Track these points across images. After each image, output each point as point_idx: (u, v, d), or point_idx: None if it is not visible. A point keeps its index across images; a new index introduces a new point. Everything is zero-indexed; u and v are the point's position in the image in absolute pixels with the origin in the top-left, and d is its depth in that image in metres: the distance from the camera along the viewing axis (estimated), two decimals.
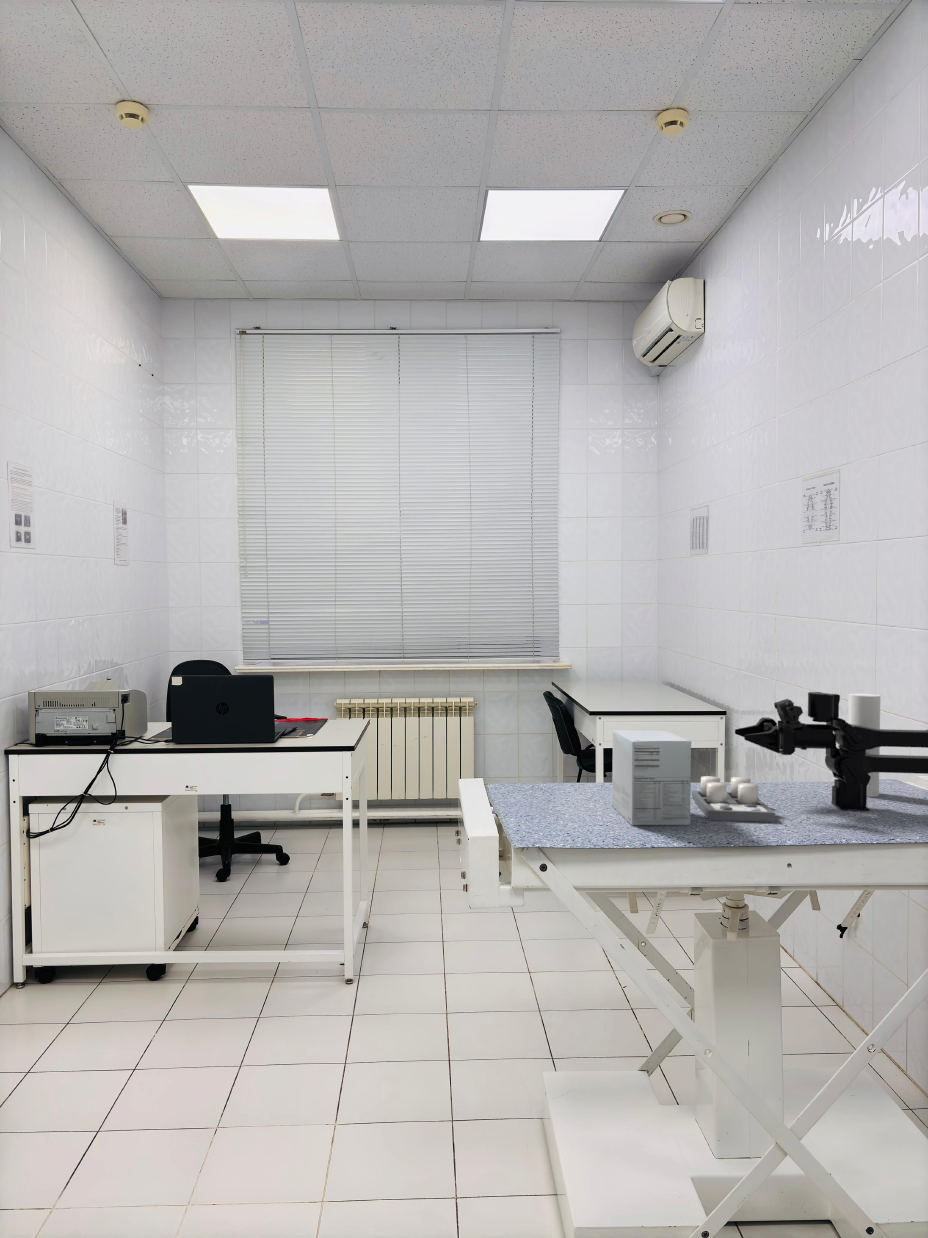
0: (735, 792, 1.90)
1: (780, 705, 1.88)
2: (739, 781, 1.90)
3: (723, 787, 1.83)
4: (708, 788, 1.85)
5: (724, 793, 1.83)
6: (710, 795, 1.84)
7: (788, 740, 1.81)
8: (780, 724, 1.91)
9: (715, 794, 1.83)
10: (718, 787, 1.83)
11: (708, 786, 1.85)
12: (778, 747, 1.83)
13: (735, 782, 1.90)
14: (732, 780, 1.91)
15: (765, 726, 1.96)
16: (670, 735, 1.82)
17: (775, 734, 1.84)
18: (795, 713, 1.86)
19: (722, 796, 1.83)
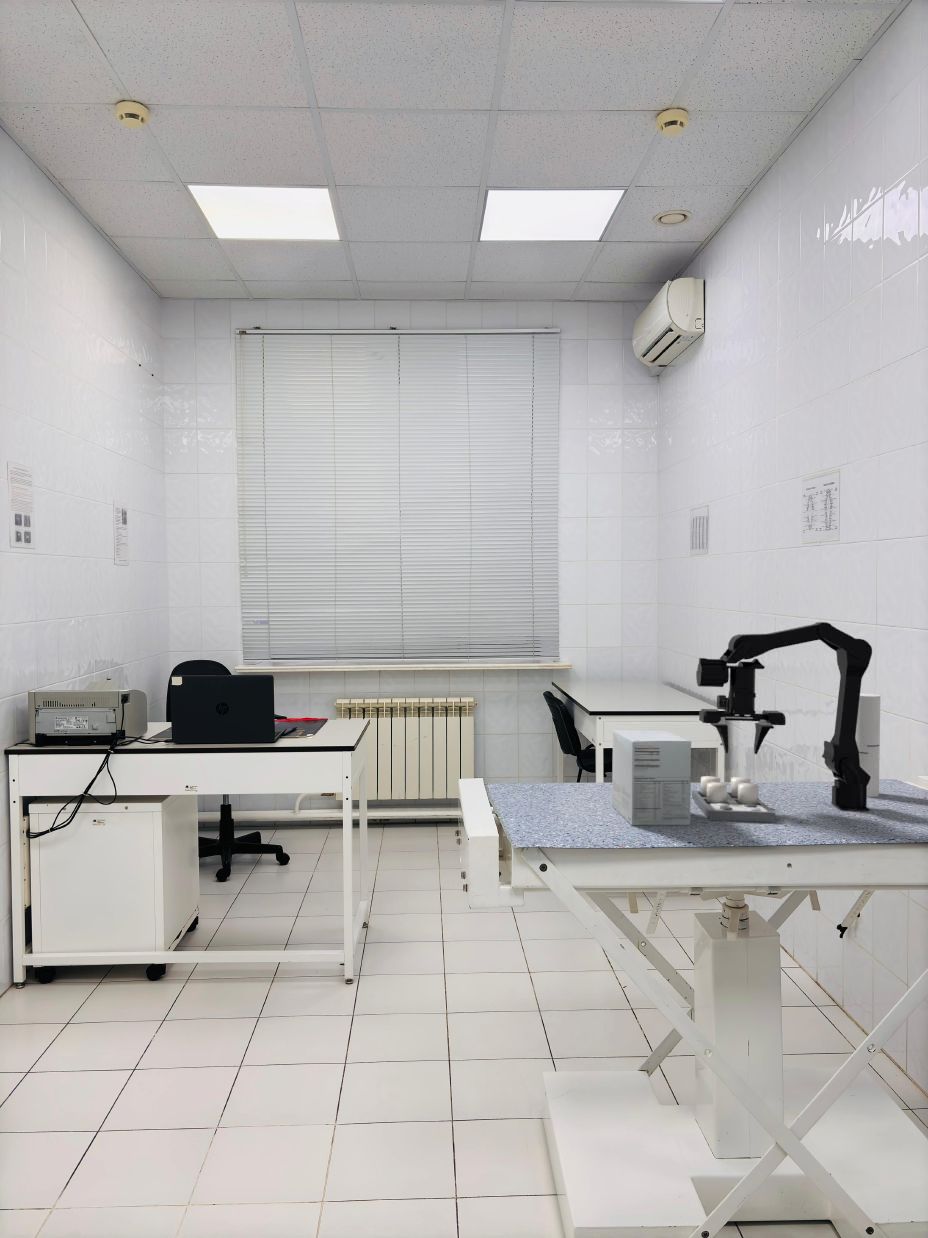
0: (735, 792, 1.90)
1: None
2: (739, 781, 1.90)
3: (723, 787, 1.83)
4: (708, 788, 1.85)
5: (724, 793, 1.83)
6: (710, 795, 1.84)
7: (701, 716, 1.93)
8: None
9: (715, 794, 1.83)
10: (718, 787, 1.83)
11: (708, 786, 1.85)
12: (713, 725, 1.90)
13: (735, 782, 1.90)
14: (732, 780, 1.91)
15: (758, 722, 1.92)
16: (670, 735, 1.82)
17: None
18: (718, 702, 1.97)
19: (722, 796, 1.83)
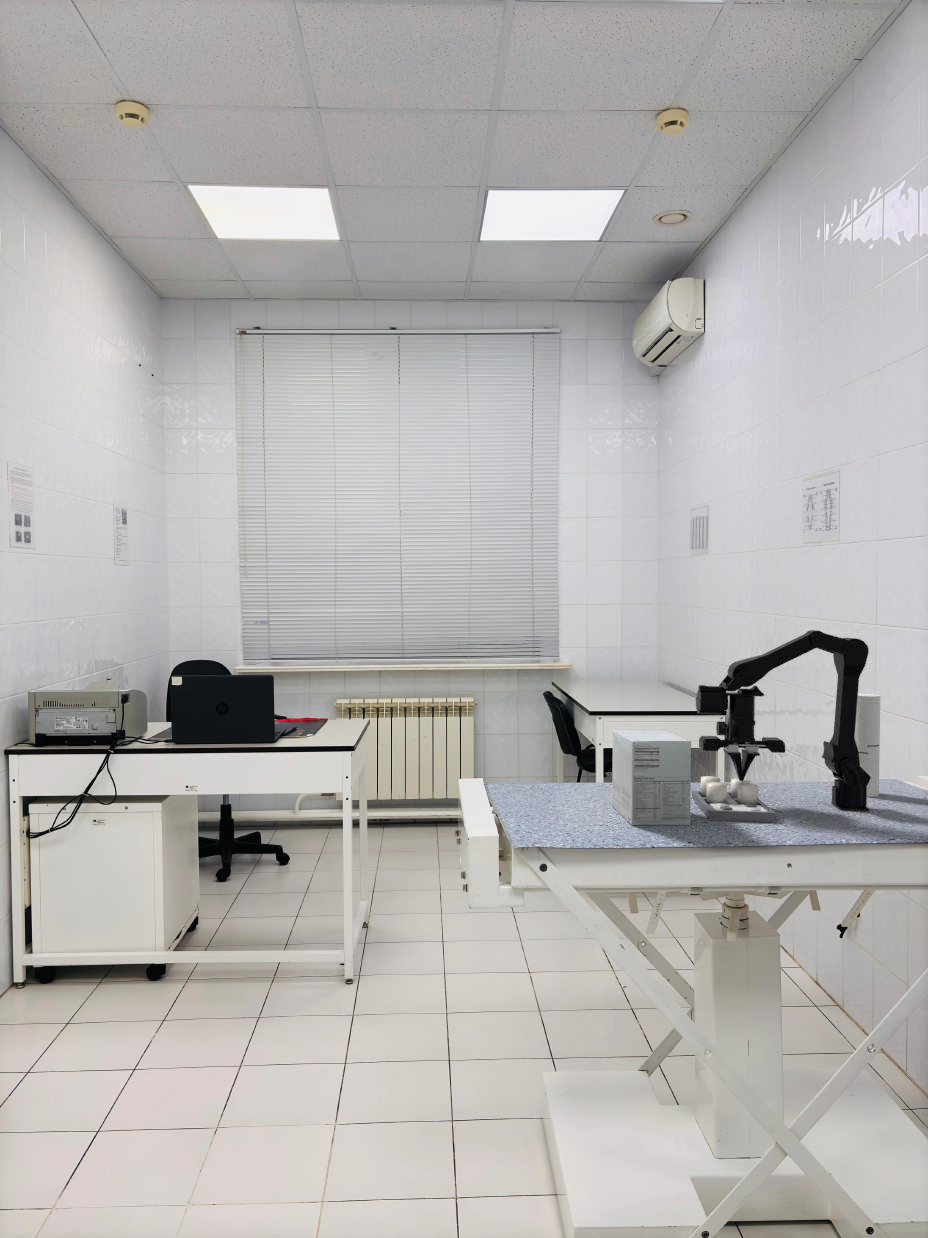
0: (735, 794, 1.90)
1: None
2: (739, 782, 1.90)
3: (723, 787, 1.83)
4: (708, 788, 1.85)
5: (724, 793, 1.83)
6: (710, 795, 1.84)
7: (700, 743, 1.93)
8: None
9: (715, 794, 1.83)
10: (718, 787, 1.83)
11: (708, 786, 1.85)
12: (727, 753, 1.90)
13: (735, 783, 1.90)
14: (732, 781, 1.91)
15: (744, 748, 1.93)
16: (670, 735, 1.82)
17: None
18: (717, 728, 1.98)
19: (722, 796, 1.83)
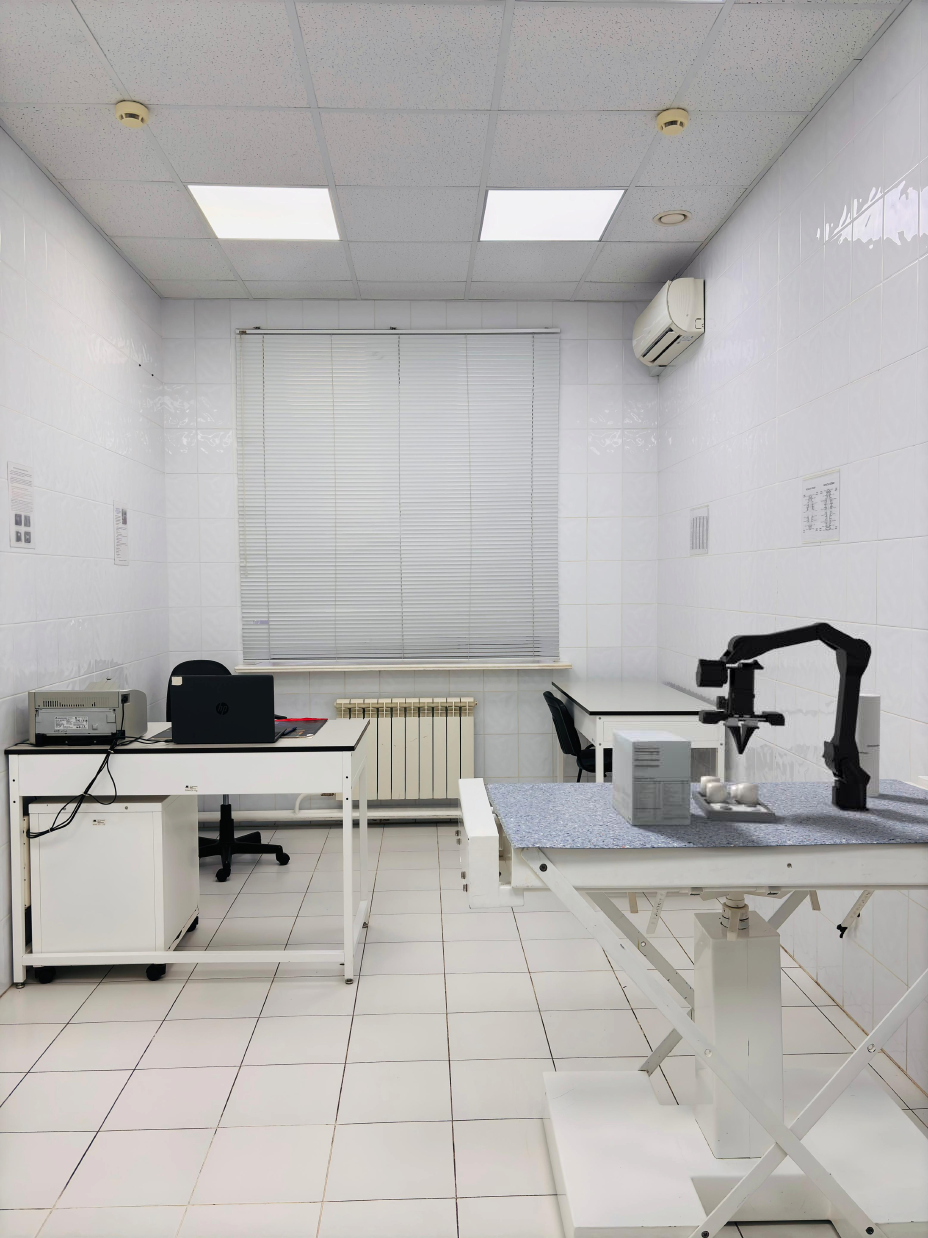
0: None
1: None
2: None
3: (723, 787, 1.83)
4: (708, 788, 1.85)
5: (724, 793, 1.83)
6: (710, 795, 1.84)
7: (700, 717, 1.92)
8: None
9: (715, 794, 1.83)
10: (718, 787, 1.83)
11: (708, 786, 1.85)
12: (726, 726, 1.90)
13: (735, 790, 1.90)
14: (732, 788, 1.91)
15: (744, 722, 1.93)
16: (670, 735, 1.82)
17: None
18: (717, 702, 1.97)
19: (722, 796, 1.83)
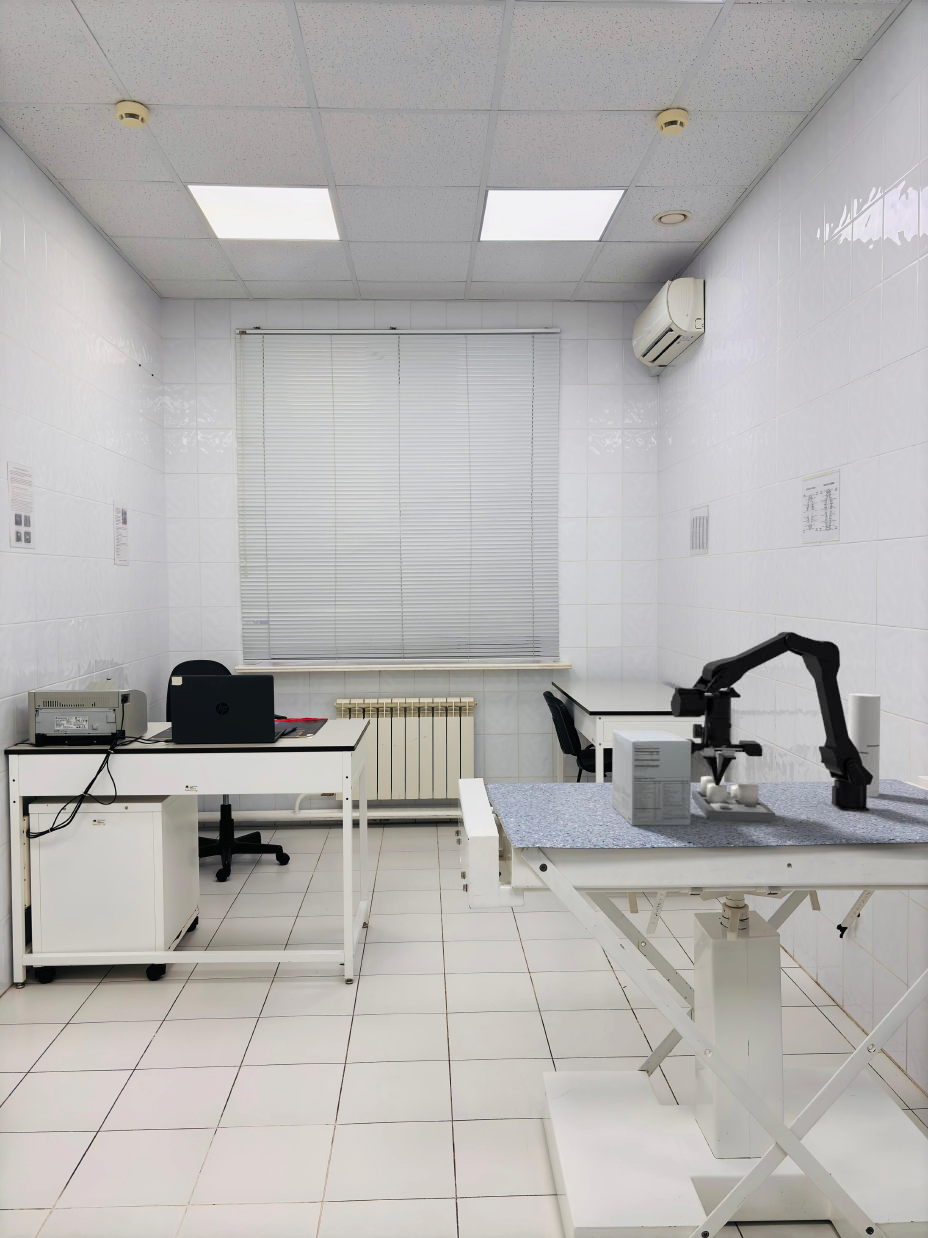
0: None
1: None
2: None
3: (723, 788, 1.83)
4: (708, 789, 1.85)
5: (724, 794, 1.83)
6: (710, 796, 1.84)
7: None
8: None
9: (715, 795, 1.83)
10: (718, 788, 1.83)
11: (708, 787, 1.85)
12: (702, 757, 1.84)
13: (735, 790, 1.90)
14: (732, 788, 1.91)
15: (721, 752, 1.86)
16: (670, 735, 1.82)
17: None
18: (693, 731, 1.91)
19: (722, 797, 1.83)
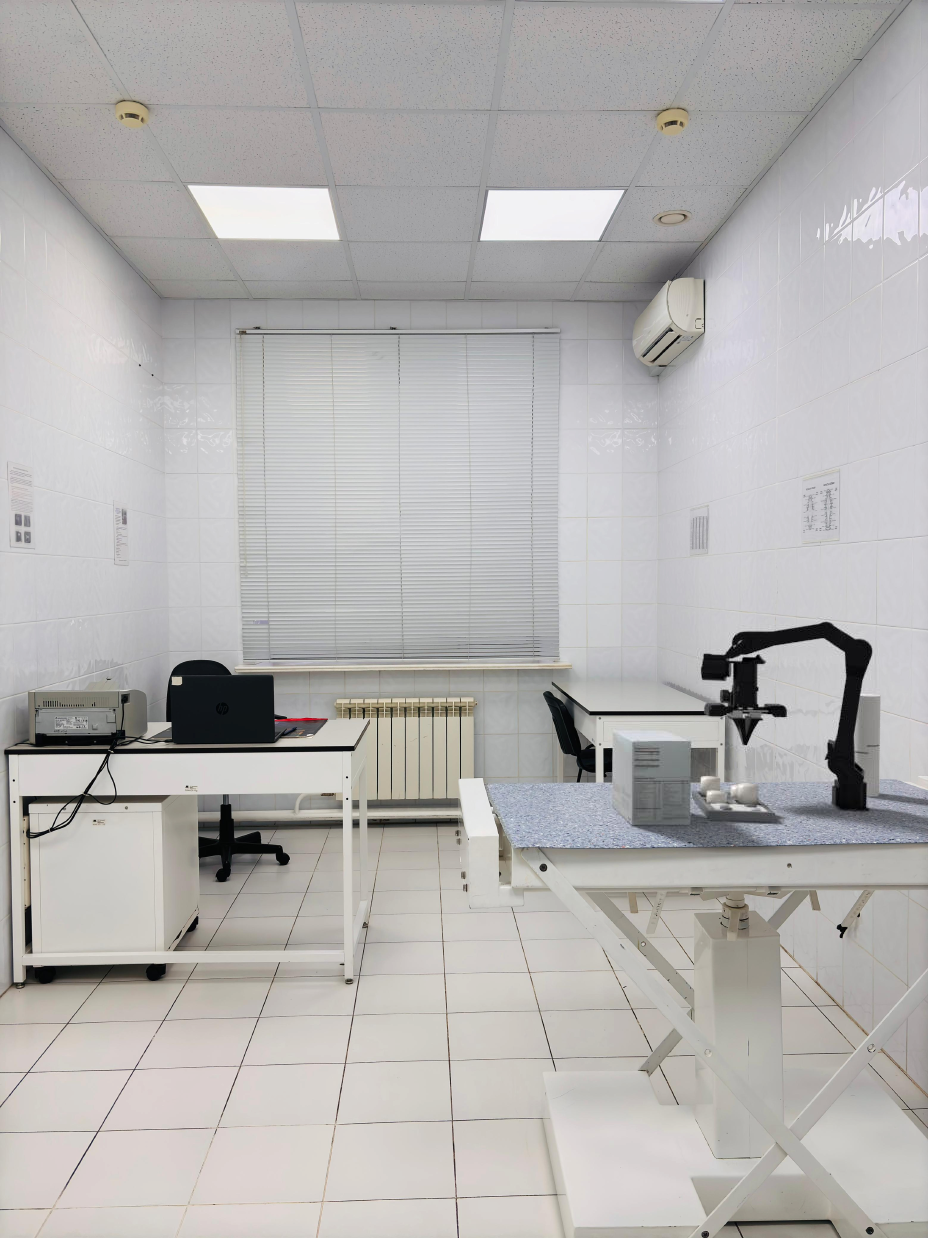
0: None
1: None
2: None
3: (723, 795, 1.83)
4: (708, 796, 1.85)
5: (724, 801, 1.83)
6: None
7: (706, 710, 2.01)
8: None
9: (715, 803, 1.83)
10: (718, 795, 1.83)
11: (708, 794, 1.85)
12: (731, 718, 1.98)
13: (735, 790, 1.90)
14: (732, 788, 1.91)
15: (748, 714, 2.01)
16: (670, 735, 1.82)
17: None
18: (721, 696, 2.06)
19: None
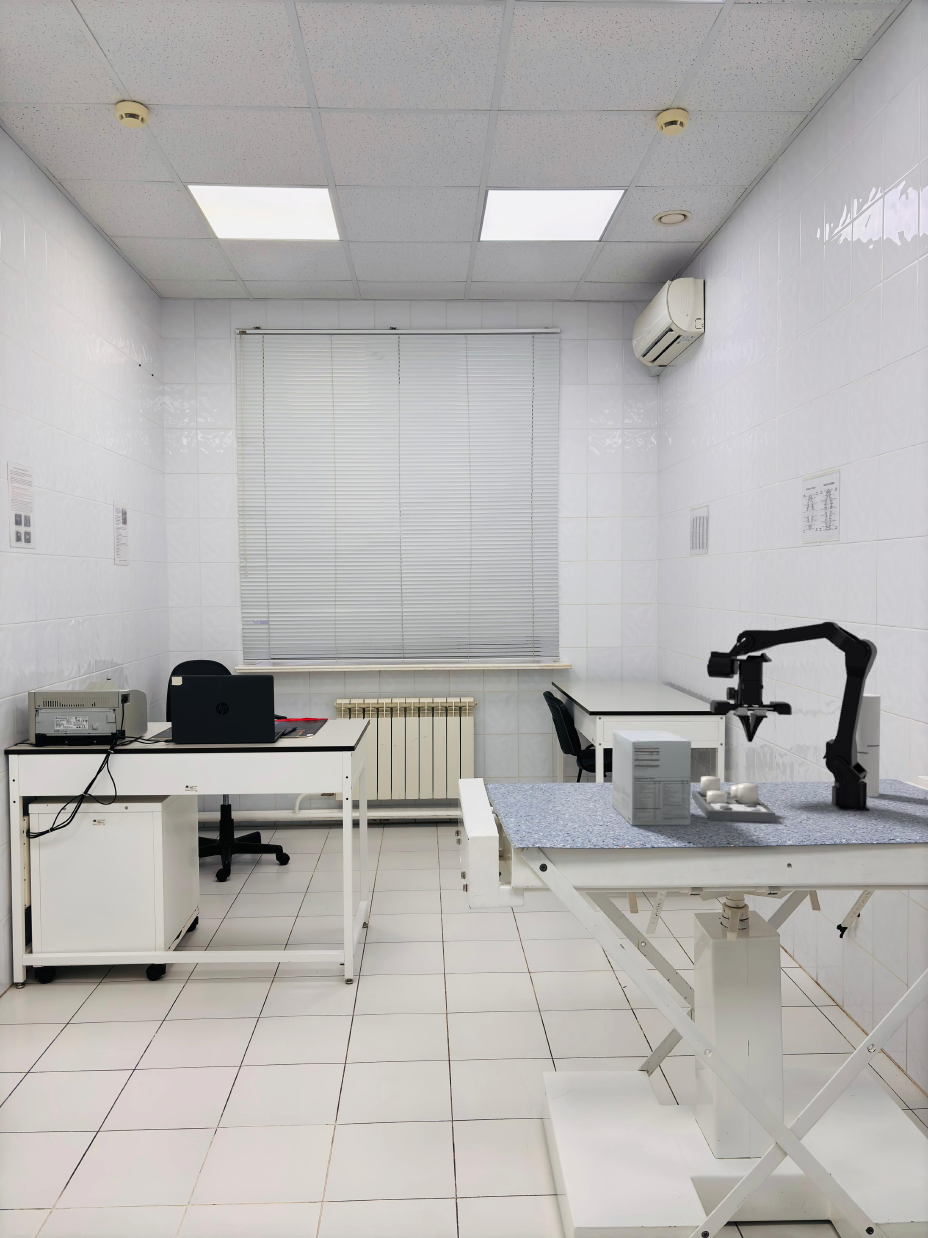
0: None
1: None
2: None
3: (723, 795, 1.83)
4: (708, 796, 1.85)
5: (724, 801, 1.83)
6: None
7: (711, 707, 2.04)
8: None
9: (715, 803, 1.83)
10: (718, 795, 1.83)
11: (708, 794, 1.85)
12: (736, 715, 2.02)
13: (735, 790, 1.90)
14: (732, 788, 1.91)
15: (753, 712, 2.04)
16: (670, 735, 1.82)
17: None
18: (727, 693, 2.09)
19: None
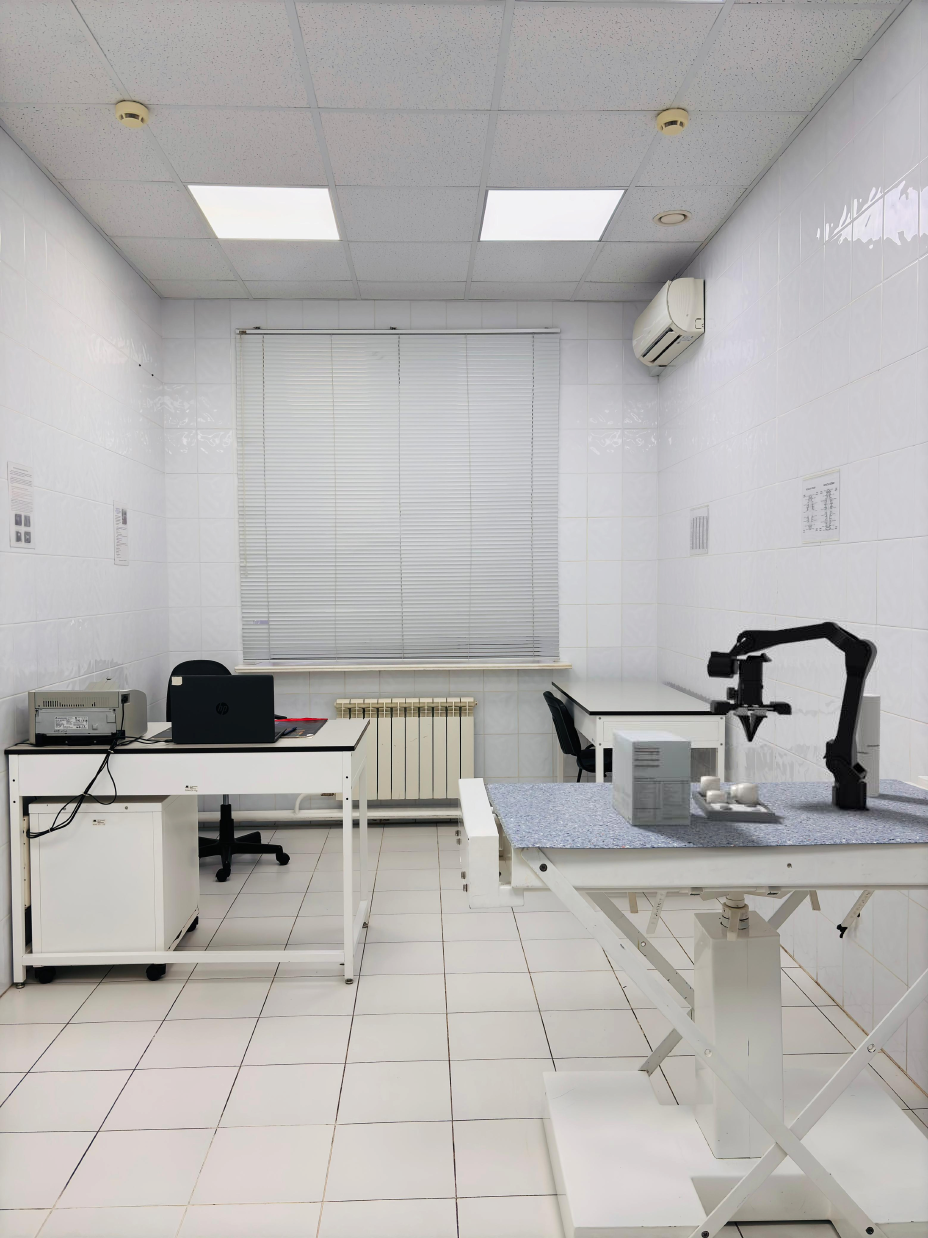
0: None
1: None
2: None
3: (723, 795, 1.83)
4: (708, 796, 1.85)
5: (724, 801, 1.83)
6: None
7: (711, 707, 2.04)
8: None
9: (715, 803, 1.83)
10: (718, 795, 1.83)
11: (708, 794, 1.85)
12: (736, 715, 2.02)
13: (735, 790, 1.90)
14: (732, 788, 1.91)
15: (753, 712, 2.04)
16: (670, 735, 1.82)
17: None
18: (727, 693, 2.09)
19: None
